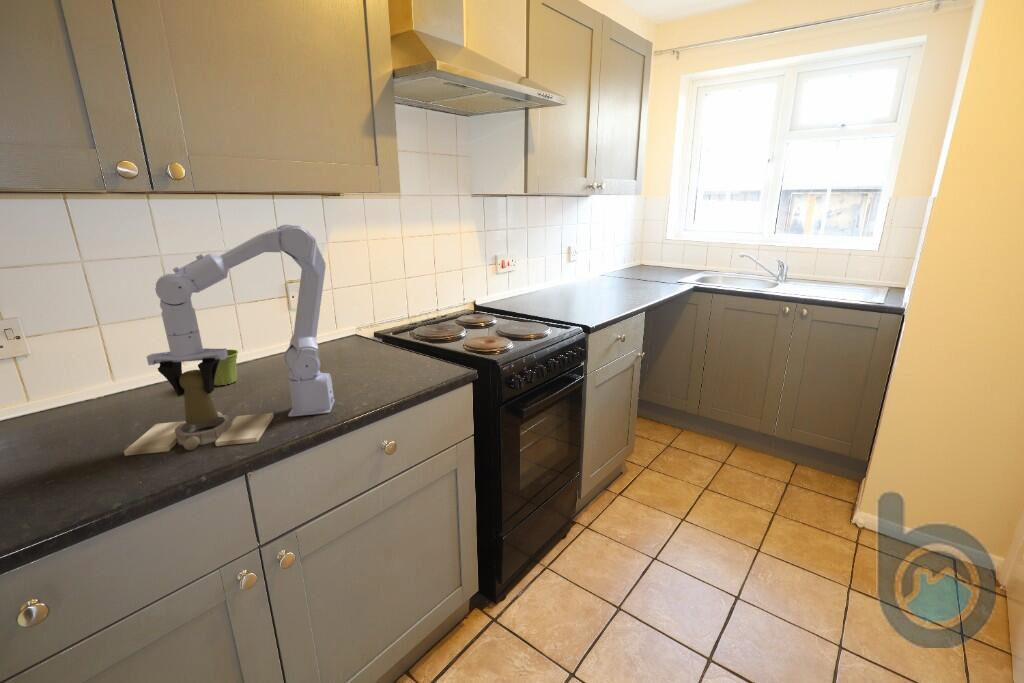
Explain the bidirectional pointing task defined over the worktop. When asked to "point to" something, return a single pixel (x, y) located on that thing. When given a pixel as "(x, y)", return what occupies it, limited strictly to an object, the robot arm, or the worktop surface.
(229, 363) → the plant pot
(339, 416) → the worktop surface
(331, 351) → the worktop surface
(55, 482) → the worktop surface
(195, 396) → the cork
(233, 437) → the hinge base
